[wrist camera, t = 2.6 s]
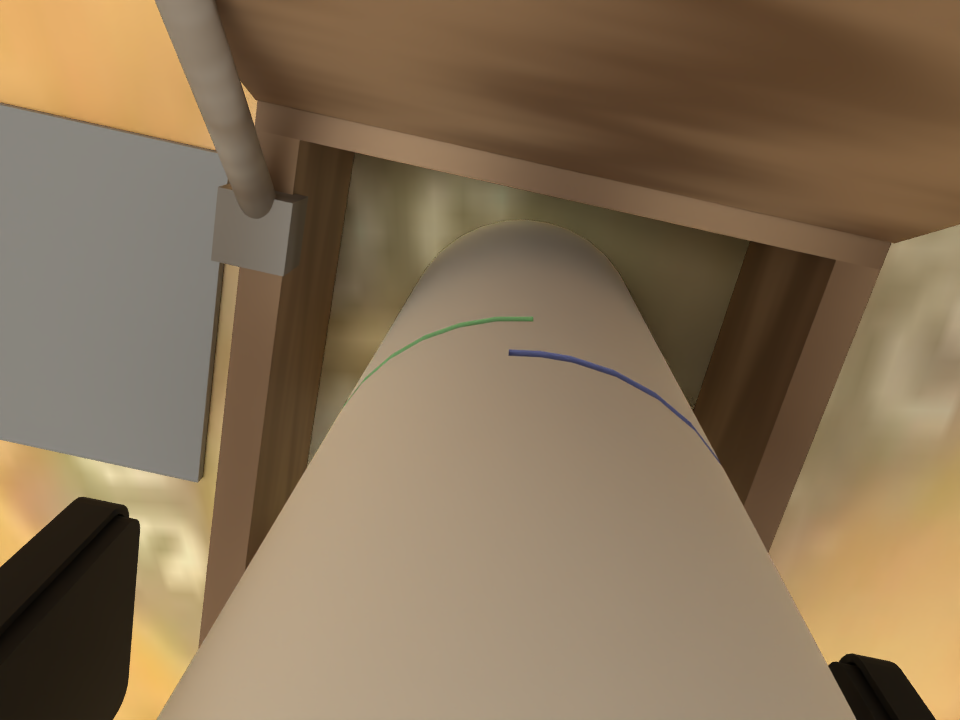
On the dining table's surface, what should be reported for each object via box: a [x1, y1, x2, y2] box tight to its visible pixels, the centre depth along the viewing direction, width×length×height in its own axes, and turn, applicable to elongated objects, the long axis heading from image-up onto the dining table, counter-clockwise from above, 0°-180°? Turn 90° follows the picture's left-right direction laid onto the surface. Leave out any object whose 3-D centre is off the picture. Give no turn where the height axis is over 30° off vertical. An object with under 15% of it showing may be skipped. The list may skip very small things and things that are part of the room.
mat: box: [0, 103, 230, 482], centre depth 24 cm, size 11×11×1 cm
